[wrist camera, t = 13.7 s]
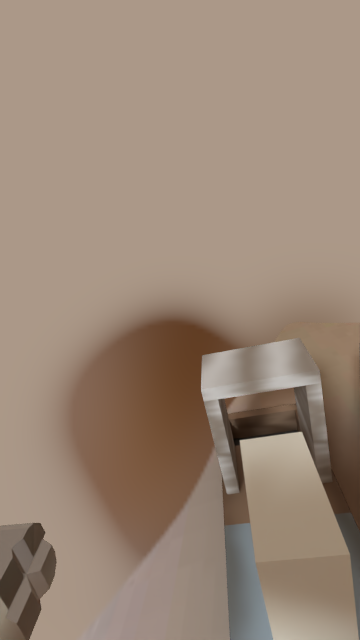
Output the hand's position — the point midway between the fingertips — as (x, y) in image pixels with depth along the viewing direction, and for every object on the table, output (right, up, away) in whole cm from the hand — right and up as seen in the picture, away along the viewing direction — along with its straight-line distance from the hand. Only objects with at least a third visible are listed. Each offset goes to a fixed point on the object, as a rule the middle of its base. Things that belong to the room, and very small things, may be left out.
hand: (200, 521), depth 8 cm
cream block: (+10, -18, +23) cm, 31 cm away
